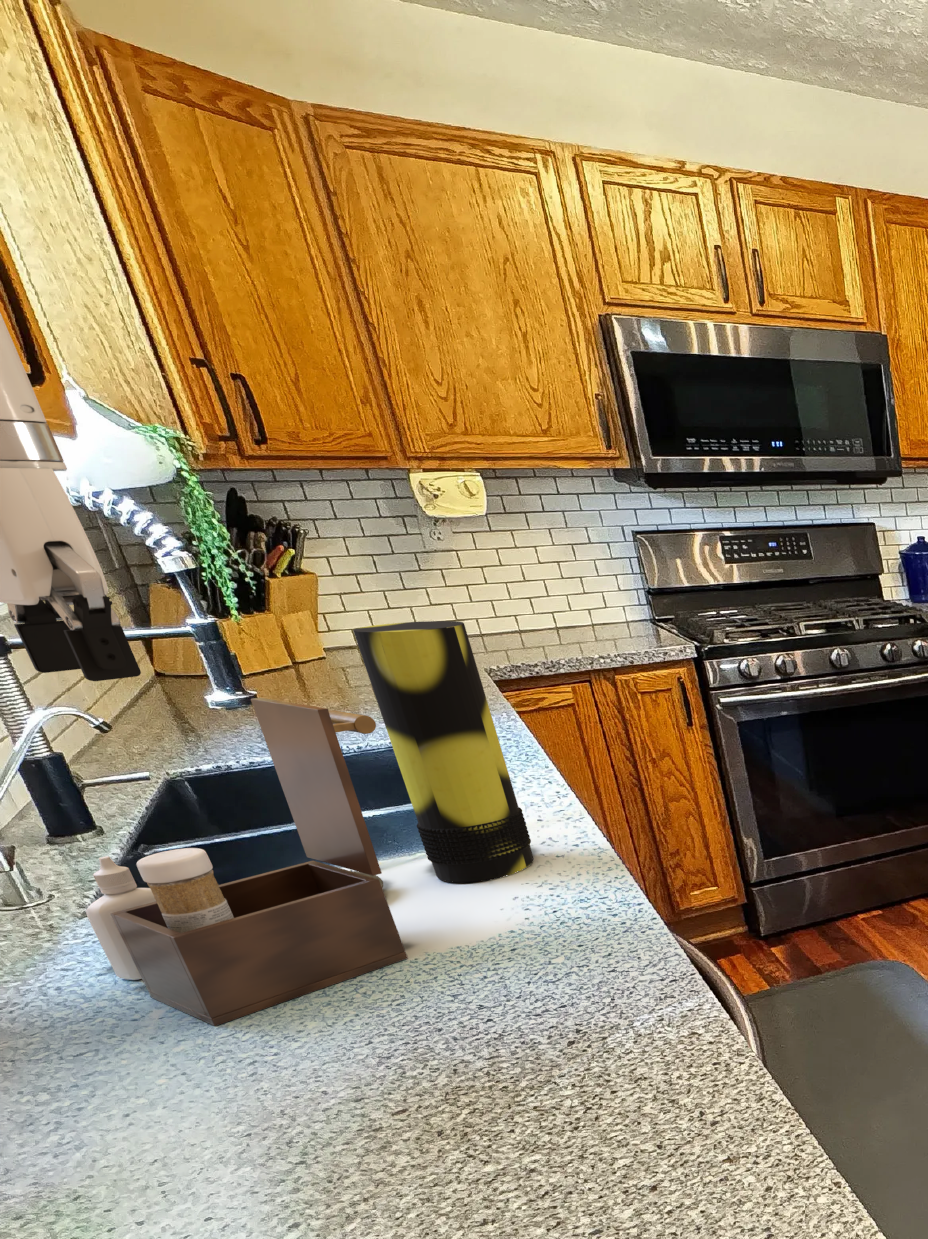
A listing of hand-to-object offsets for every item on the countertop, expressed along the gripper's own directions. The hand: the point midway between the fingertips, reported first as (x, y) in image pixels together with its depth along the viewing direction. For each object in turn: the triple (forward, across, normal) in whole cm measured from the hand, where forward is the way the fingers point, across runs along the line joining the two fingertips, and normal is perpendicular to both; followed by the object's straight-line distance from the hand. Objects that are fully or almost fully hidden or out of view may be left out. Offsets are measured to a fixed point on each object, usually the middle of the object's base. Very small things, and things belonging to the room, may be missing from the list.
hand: (89, 674), depth 83 cm
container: (+31, -14, +31) cm, 46 cm away
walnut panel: (+13, 0, +12) cm, 17 cm away
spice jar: (+30, 0, 0) cm, 30 cm away
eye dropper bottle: (+31, -14, -1) cm, 34 cm away
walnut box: (+30, 0, +4) cm, 31 cm away
